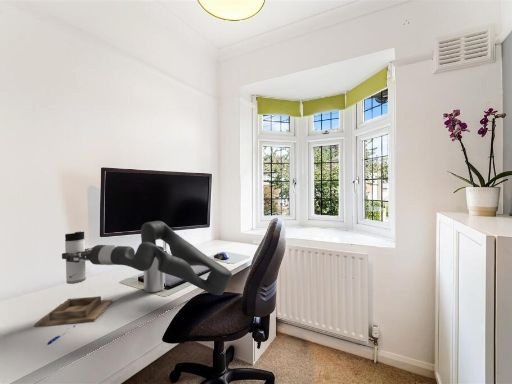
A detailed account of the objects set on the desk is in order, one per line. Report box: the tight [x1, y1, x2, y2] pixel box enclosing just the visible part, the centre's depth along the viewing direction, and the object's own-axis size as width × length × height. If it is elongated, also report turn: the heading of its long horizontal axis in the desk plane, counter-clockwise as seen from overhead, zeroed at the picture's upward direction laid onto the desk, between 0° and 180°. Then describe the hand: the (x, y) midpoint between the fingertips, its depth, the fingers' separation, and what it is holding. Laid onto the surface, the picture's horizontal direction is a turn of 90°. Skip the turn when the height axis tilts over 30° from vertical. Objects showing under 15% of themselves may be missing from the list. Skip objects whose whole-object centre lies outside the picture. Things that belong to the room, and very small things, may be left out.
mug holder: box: [34, 295, 113, 327], centre depth 98 cm, size 20×16×4 cm
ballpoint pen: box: [47, 325, 76, 345], centre depth 84 cm, size 10×1×1 cm, turn 177°
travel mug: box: [64, 231, 87, 285], centre depth 98 cm, size 6×7×20 cm
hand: (71, 253), depth 99 cm, fingers closed on travel mug, 6 cm apart
